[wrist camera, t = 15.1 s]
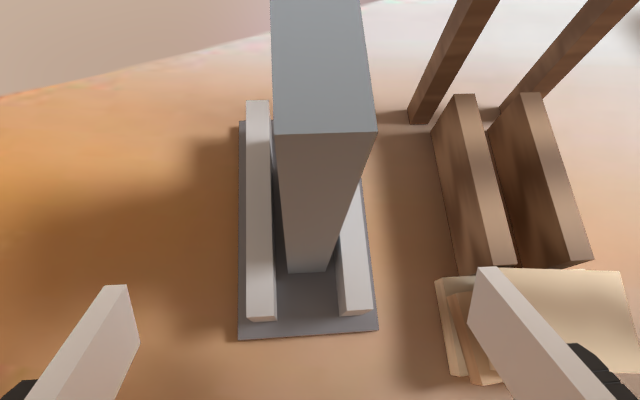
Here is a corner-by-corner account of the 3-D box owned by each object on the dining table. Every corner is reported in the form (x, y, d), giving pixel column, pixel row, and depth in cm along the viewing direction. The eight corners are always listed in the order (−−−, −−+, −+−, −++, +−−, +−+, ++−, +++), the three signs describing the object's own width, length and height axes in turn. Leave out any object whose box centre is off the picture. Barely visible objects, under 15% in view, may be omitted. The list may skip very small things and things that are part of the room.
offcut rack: (597, 370, 26) (1126, 406, 9) (451, 382, 25) (750, 444, 9) (519, 106, 33) (736, -132, 17) (404, 109, 32) (515, -138, 16)
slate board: (325, 271, 26) (377, 131, 9) (288, 273, 26) (273, 134, 9) (317, 165, 29) (346, -89, 12) (283, 166, 29) (267, -90, 12)
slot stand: (376, 330, 26) (393, 326, 21) (239, 340, 25) (227, 338, 20) (352, 123, 31) (362, 85, 27) (240, 126, 31) (231, 88, 26)
